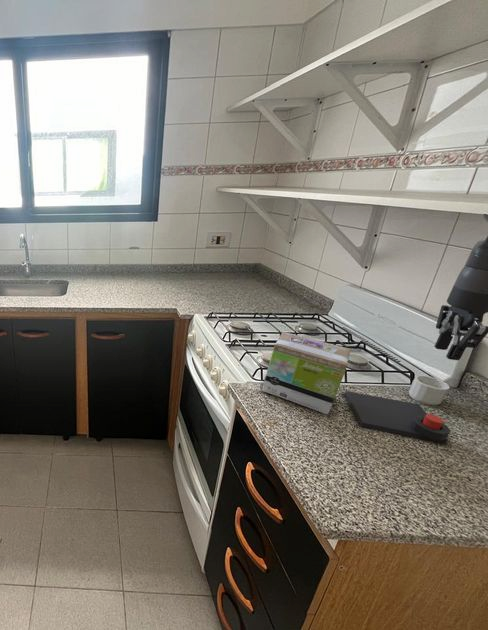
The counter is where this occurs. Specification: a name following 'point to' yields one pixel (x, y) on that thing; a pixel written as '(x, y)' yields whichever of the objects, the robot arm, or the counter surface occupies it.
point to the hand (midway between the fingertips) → (446, 353)
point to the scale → (394, 417)
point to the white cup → (428, 390)
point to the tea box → (306, 371)
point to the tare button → (433, 422)
